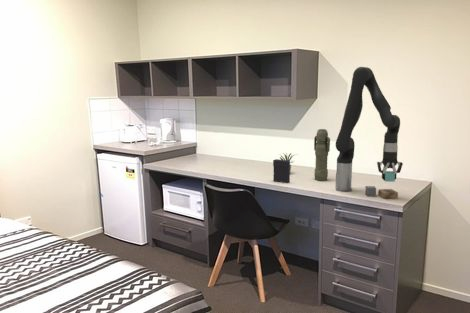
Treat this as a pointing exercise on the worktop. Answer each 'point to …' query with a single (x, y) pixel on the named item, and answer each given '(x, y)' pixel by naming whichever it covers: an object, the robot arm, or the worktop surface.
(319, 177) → the olive green figurine
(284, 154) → the house plant
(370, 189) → the charcoal cube
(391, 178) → the teal cube
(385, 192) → the brown square block
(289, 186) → the worktop surface
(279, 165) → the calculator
